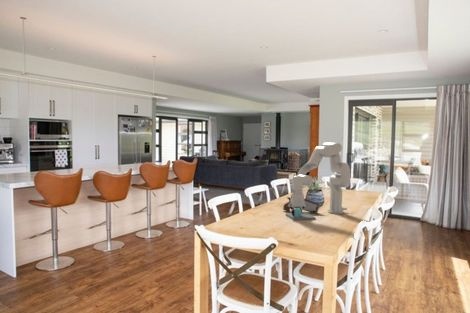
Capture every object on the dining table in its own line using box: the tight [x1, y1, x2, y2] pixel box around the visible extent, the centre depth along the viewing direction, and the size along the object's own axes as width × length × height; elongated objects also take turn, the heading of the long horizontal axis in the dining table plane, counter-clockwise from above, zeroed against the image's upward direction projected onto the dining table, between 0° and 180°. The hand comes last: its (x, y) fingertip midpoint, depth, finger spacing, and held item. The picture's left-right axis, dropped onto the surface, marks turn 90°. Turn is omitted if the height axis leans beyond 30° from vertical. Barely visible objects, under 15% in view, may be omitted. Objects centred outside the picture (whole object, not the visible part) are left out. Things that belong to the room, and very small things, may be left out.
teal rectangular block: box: [294, 208, 303, 217], centre depth 255 cm, size 6×6×5 cm
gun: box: [282, 196, 320, 214], centre depth 273 cm, size 5×27×15 cm, turn 79°
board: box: [285, 212, 317, 221], centre depth 255 cm, size 18×16×6 cm
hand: (296, 214), depth 255 cm, fingers closed on teal rectangular block, 5 cm apart
